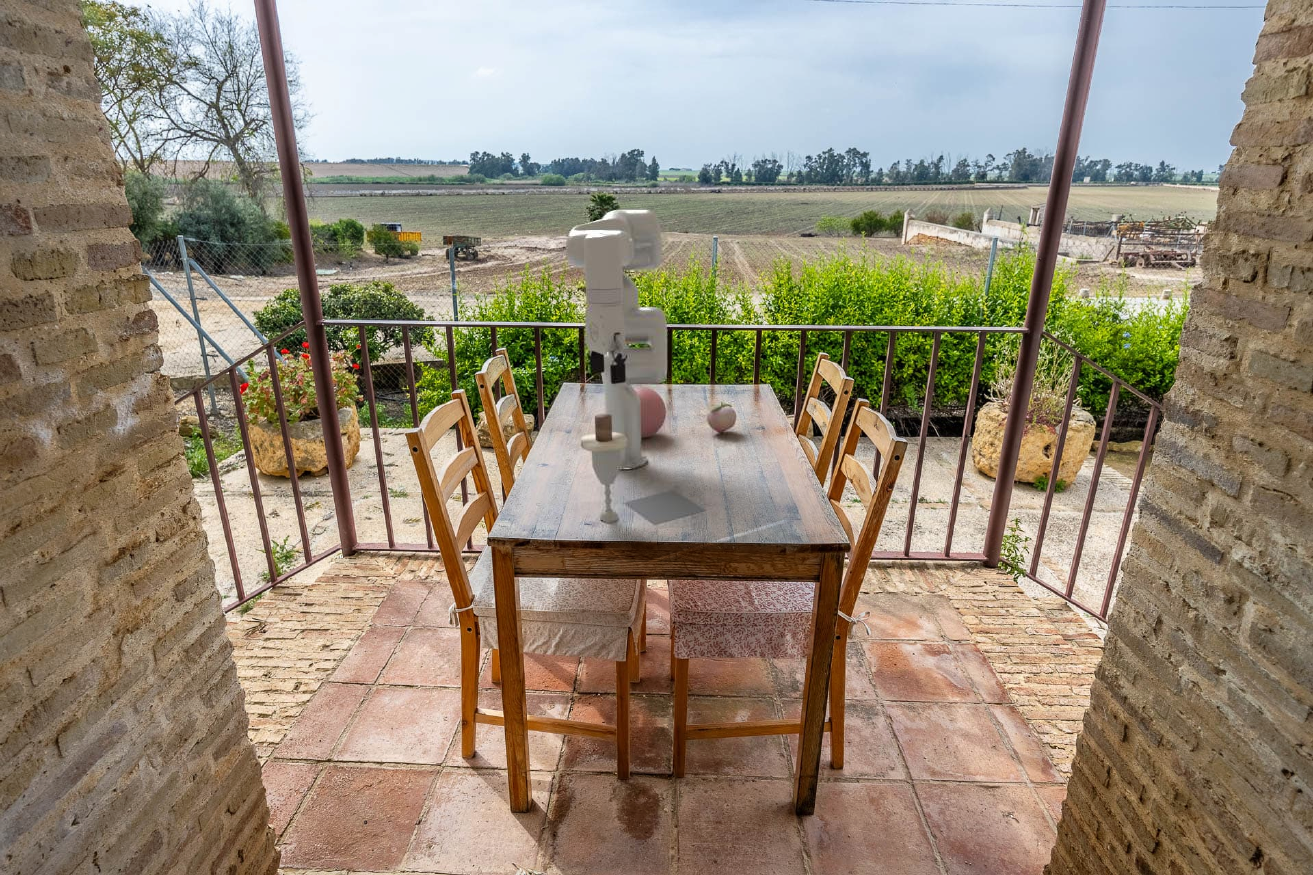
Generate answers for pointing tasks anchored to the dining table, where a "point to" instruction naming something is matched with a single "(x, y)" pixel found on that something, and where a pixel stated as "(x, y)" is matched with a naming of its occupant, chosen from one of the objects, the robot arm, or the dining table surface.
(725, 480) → the dining table surface
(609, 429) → the lid
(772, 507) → the dining table surface
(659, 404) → the balloon
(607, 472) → the chalice
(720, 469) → the dining table surface
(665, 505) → the mat
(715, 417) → the decorative fruit
